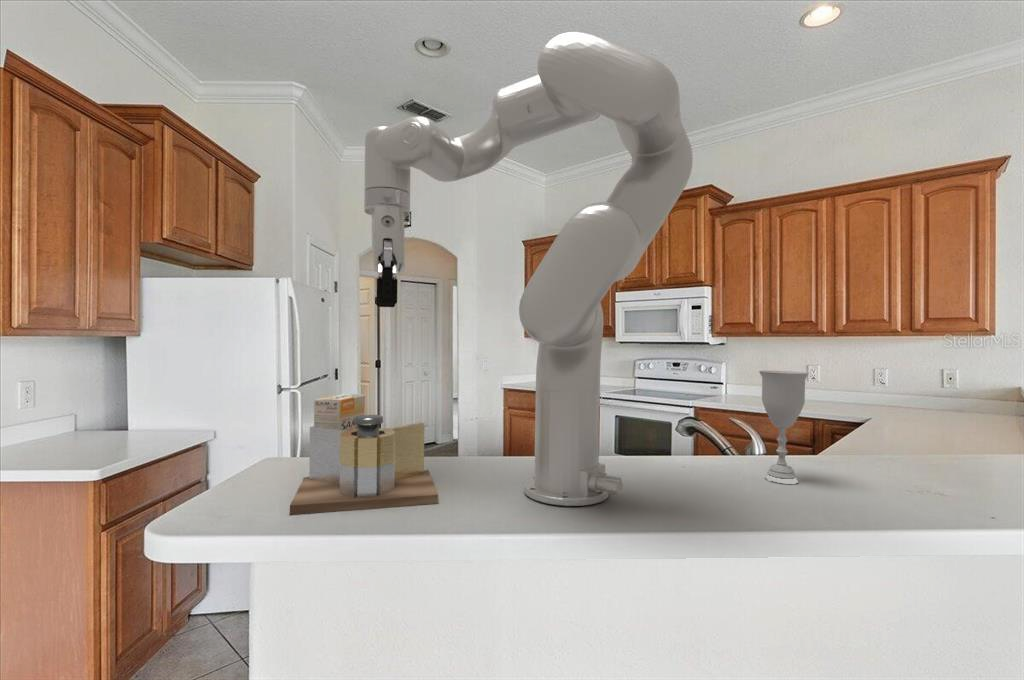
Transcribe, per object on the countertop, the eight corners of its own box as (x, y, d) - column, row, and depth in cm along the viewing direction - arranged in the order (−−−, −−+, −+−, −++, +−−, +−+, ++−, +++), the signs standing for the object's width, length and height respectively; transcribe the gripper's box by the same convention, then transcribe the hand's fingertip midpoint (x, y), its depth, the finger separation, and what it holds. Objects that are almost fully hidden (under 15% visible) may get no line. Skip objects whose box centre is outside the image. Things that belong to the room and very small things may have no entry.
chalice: (807, 479, 83) (809, 372, 83) (806, 489, 77) (808, 374, 77) (759, 472, 87) (761, 369, 87) (754, 481, 81) (756, 372, 81)
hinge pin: (388, 489, 71) (388, 416, 71) (364, 496, 67) (365, 420, 67) (370, 484, 73) (371, 413, 73) (347, 490, 70) (347, 417, 70)
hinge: (430, 492, 70) (431, 435, 70) (299, 501, 65) (299, 441, 65) (423, 471, 80) (423, 422, 80) (310, 478, 76) (310, 425, 76)
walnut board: (437, 503, 69) (438, 494, 69) (289, 514, 64) (289, 505, 64) (428, 477, 81) (428, 469, 81) (304, 484, 76) (304, 477, 76)
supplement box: (339, 483, 78) (340, 399, 77) (312, 480, 78) (312, 398, 78) (365, 469, 86) (366, 393, 86) (340, 467, 87) (340, 392, 86)
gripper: (413, 192, 77) (412, 303, 77) (407, 217, 93) (405, 308, 93) (363, 188, 75) (361, 301, 75) (365, 214, 91) (364, 307, 91)
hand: (386, 305), depth 84 cm, fingers open, 9 cm apart
